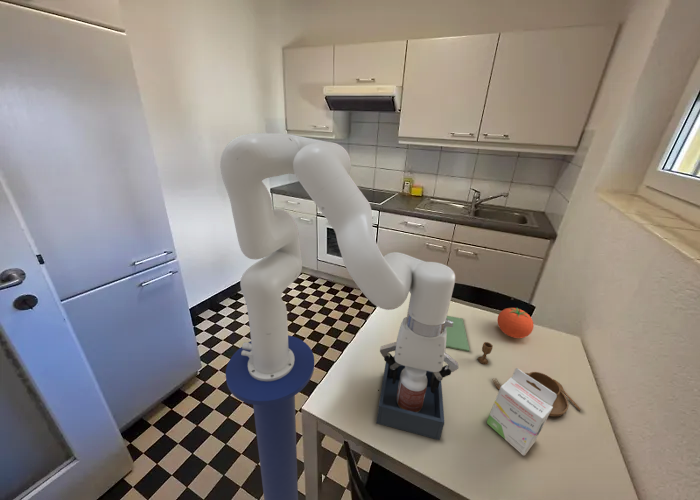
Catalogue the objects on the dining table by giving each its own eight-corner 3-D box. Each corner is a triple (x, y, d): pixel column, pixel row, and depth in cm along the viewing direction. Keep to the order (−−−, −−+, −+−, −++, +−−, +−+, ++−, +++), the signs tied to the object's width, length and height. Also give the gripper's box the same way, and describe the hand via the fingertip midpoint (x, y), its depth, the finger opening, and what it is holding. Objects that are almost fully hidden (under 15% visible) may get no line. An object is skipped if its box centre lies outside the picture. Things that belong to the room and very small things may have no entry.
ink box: (484, 423, 63) (502, 375, 57) (496, 412, 66) (514, 365, 60) (524, 457, 57) (549, 407, 51) (535, 444, 59) (560, 395, 54)
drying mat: (408, 339, 87) (409, 338, 87) (410, 310, 102) (410, 309, 101) (469, 351, 84) (469, 350, 83) (462, 319, 98) (462, 318, 98)
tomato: (526, 330, 95) (536, 305, 91) (530, 349, 86) (540, 323, 82) (493, 320, 99) (501, 296, 95) (494, 338, 90) (502, 312, 86)
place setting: (522, 423, 64) (530, 405, 61) (474, 357, 82) (478, 341, 79) (587, 415, 66) (597, 397, 64) (526, 353, 84) (532, 338, 82)
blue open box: (376, 423, 62) (378, 406, 59) (383, 375, 74) (386, 359, 72) (439, 440, 59) (444, 422, 57) (436, 387, 71) (440, 371, 69)
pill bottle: (426, 412, 64) (435, 377, 60) (402, 417, 63) (409, 381, 58) (415, 389, 70) (422, 355, 65) (392, 393, 68) (397, 359, 64)
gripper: (467, 318, 58) (450, 379, 65) (385, 303, 62) (377, 362, 69) (473, 342, 52) (454, 407, 59) (380, 324, 55) (372, 387, 62)
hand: (412, 383), depth 64 cm, fingers open, 8 cm apart
